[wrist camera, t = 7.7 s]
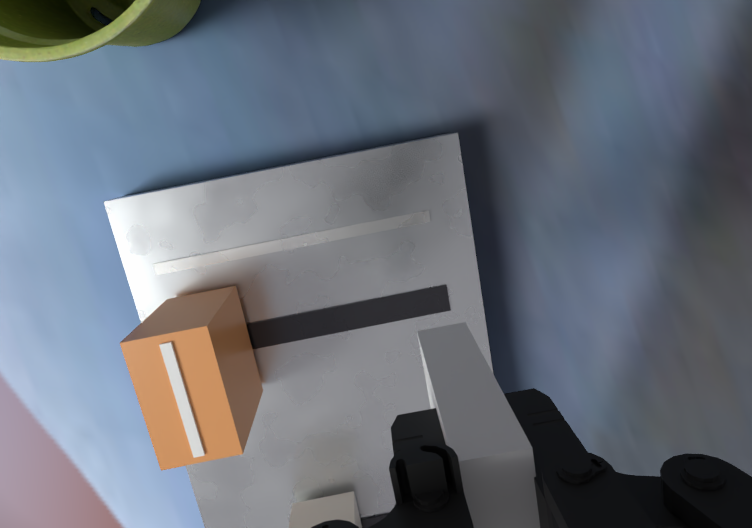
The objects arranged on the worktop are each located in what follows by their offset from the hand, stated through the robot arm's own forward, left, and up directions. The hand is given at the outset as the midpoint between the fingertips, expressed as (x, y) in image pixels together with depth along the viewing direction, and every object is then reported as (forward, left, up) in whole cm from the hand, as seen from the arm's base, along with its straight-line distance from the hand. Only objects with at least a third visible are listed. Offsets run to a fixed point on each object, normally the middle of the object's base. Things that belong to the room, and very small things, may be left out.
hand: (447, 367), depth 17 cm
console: (+5, +5, -10) cm, 12 cm away
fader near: (+9, 0, -7) cm, 12 cm away
